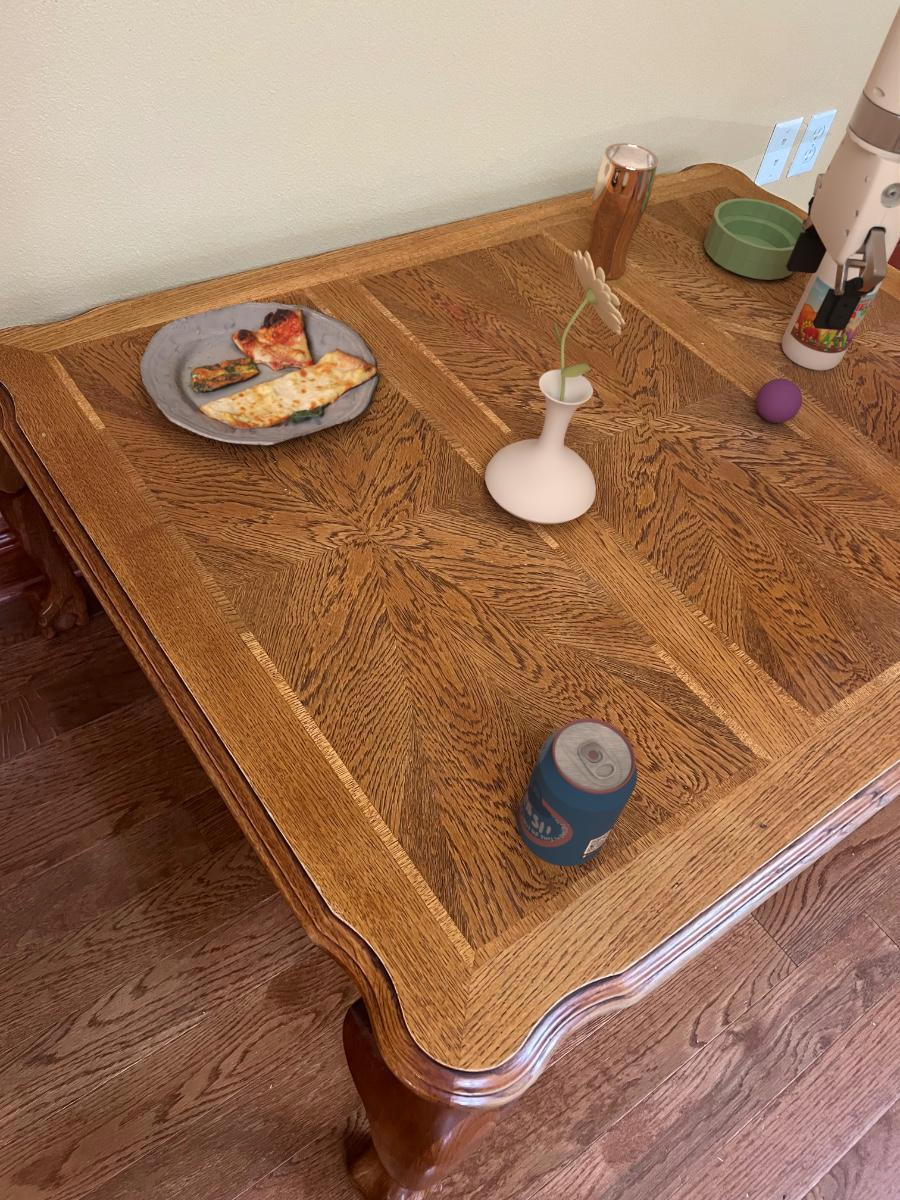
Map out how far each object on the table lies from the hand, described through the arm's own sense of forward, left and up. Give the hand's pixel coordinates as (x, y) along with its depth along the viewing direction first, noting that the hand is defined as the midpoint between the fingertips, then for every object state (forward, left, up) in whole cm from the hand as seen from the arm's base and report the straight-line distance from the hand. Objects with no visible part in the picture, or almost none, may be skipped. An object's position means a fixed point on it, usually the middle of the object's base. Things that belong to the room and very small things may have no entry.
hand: (813, 298), depth 94 cm
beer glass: (+13, -32, -18) cm, 39 cm away
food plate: (+55, -3, -18) cm, 58 cm away
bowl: (-9, -38, -18) cm, 43 cm away
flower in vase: (+26, +11, -18) cm, 33 cm away
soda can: (+28, +49, -18) cm, 59 cm away
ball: (-3, -3, -15) cm, 16 cm away
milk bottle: (-12, -16, -18) cm, 27 cm away
